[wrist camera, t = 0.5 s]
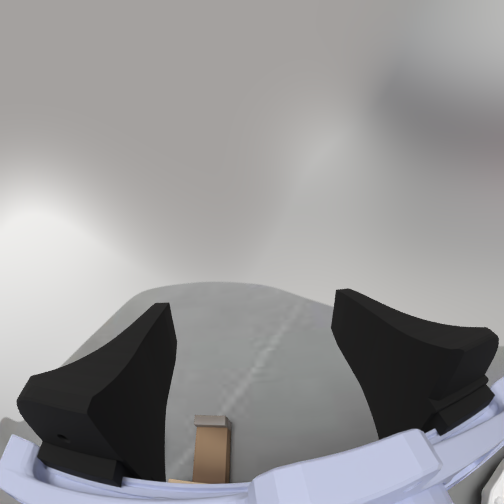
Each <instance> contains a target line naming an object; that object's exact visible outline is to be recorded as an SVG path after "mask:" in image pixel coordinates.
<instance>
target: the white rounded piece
mask: <svg viewBox="0 0 504 504" xmlns="http://www.w3.org/2000/svg"><path fill="white" fill-rule="evenodd" d="M481 495H482V500H481V504H504V459H503V460H502V461H501V462H500V464H499V465H498V467H497V468H496V470H495V471H494V473H493V475H492V476H491V478H490V479H489V481H488V482H487V484H486V485H485V487H484V488H483V490H482V493H481Z"/></svg>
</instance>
